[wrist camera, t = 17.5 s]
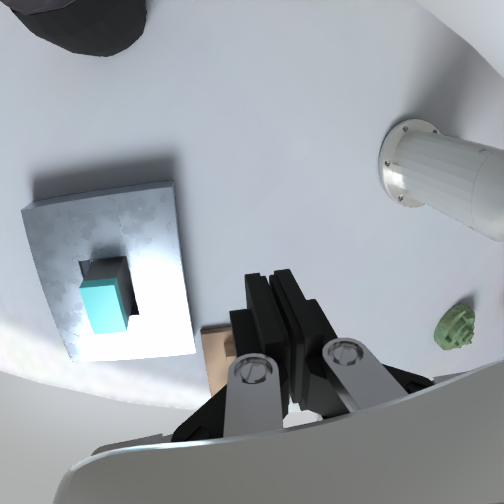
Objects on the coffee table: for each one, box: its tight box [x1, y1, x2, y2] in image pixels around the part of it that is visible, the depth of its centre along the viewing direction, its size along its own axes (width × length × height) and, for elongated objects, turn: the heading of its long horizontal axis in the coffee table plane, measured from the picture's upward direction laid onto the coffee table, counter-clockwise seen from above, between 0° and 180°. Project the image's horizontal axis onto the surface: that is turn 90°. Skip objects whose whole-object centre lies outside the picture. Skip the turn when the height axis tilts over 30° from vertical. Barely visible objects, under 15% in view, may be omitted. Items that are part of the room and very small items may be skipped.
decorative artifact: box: [434, 304, 475, 350], centre depth 54 cm, size 10×7×10 cm
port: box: [21, 180, 196, 362], centre depth 37 cm, size 18×22×4 cm
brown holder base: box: [200, 327, 236, 397], centre depth 46 cm, size 12×14×4 cm
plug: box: [79, 256, 135, 334], centre depth 35 cm, size 4×6×8 cm, turn 1°
